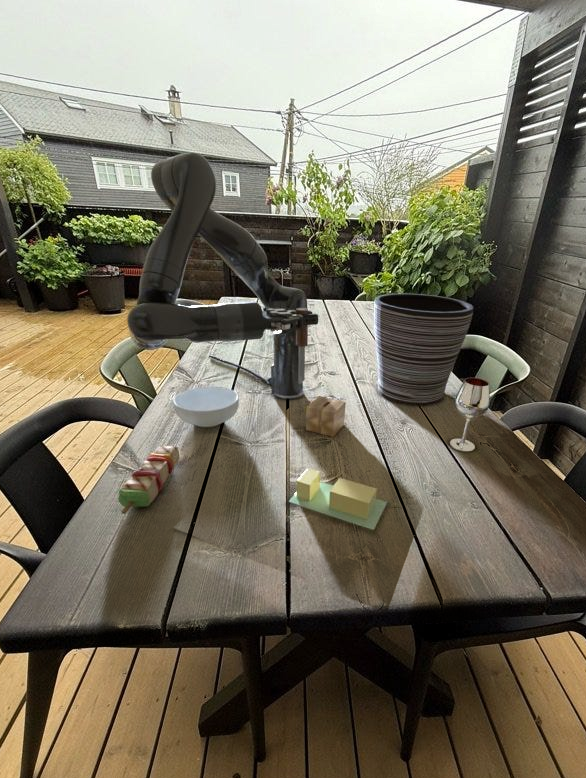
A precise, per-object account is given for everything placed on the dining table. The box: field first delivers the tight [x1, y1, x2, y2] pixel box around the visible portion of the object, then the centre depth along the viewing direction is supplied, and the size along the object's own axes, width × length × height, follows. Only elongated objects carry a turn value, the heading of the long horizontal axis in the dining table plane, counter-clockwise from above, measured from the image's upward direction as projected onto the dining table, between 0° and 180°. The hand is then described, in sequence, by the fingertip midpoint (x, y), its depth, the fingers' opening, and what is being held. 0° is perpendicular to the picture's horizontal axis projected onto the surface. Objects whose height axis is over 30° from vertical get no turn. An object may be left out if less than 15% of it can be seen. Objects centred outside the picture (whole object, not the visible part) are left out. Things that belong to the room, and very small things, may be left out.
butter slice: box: [296, 468, 322, 501], centre depth 82 cm, size 3×5×4 cm, turn 157°
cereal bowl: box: [172, 386, 240, 428], centre depth 108 cm, size 17×17×7 cm
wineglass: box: [449, 377, 491, 453], centre depth 101 cm, size 8×8×18 cm
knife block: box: [305, 395, 347, 438], centre depth 108 cm, size 8×8×7 cm
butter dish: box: [288, 477, 388, 531], centre depth 79 cm, size 18×9×5 cm, turn 67°
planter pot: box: [373, 293, 475, 406], centre depth 129 cm, size 30×30×30 cm
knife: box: [296, 308, 309, 384], centre depth 90 cm, size 3×3×17 cm
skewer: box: [118, 444, 180, 515], centre depth 81 cm, size 21×6×5 cm, turn 178°
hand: (314, 317), depth 88 cm, fingers closed on knife, 2 cm apart
